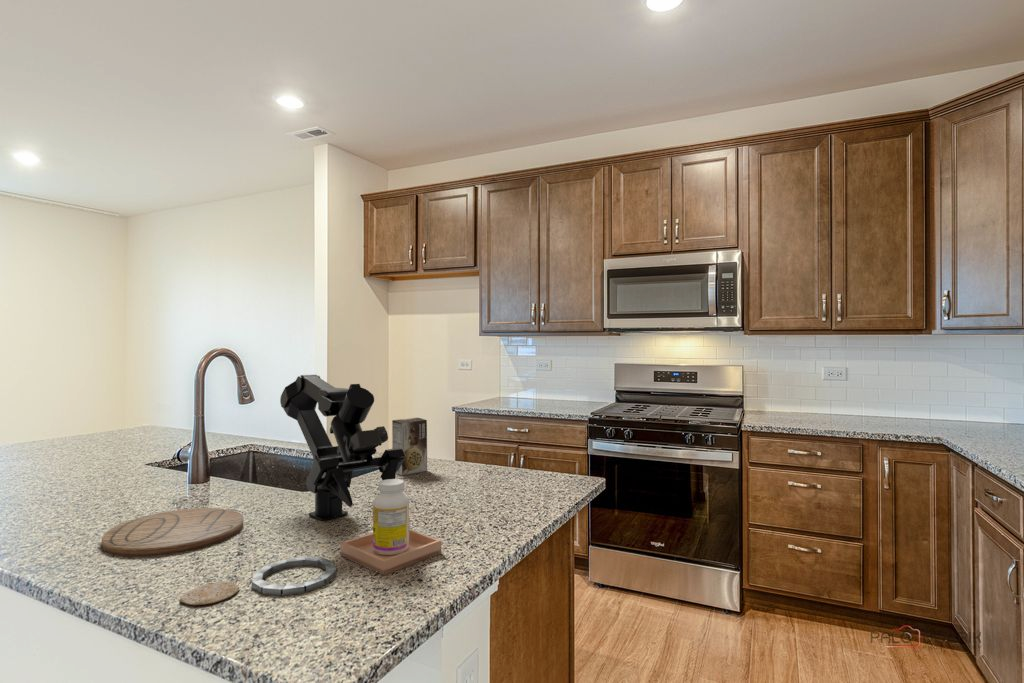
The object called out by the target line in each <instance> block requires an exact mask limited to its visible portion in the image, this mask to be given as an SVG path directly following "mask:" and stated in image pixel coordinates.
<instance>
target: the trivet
mask: <svg viewBox="0 0 1024 683" xmlns="http://www.w3.org/2000/svg"><path fill="white" fill-rule="evenodd" d="M242 528H244V516H243V514H242V513H241V512H239V511H236V510H233V509H229V508H220V507H199V508H187V509H185V508H184V509H177V510H170V511H164V512H158V513H153V514H149V515H144V516H142V517H137V518H134V519H131V520H128V521H125V522H122V523H121V524H119V525H115V526H114V527H113V526H112V528H110V529H109V530H108V531H106V532H105V533H103V536H102V537H101V547H102V550H103V551H104V552H106V553H108V554H110V555H114V556H118V557H119V556H121V557H127V558H129V557H133V558H135V557H137V558H138V557H139V558H143V557H144V558H145V557H156V556H159V557H160V556H167V555H172V554H173V555H175V554H179V553H184V552H185V553H186V552H189V551H193V550H198V549H201V548H206V547H208V546H212V545H215V544H218V543H222V542H223V541H225V540H227V539H230V538H232V537H234V536H235V535H236V534H238V533H240V531H242Z"/></svg>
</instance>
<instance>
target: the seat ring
mask: <svg viewBox="0 0 1024 683" xmlns="http://www.w3.org/2000/svg"><path fill="white" fill-rule="evenodd" d="M303 566H307V567H308V566H309V567H318V568H320V569H322V570H323V571H324V572H323V573H321V575H319V576H318V577H315V578H312V579H311V580H310V579H309V580H307V581H305V582H300V583H294V584H293V583H292V584H291V583H290V584H275V583H270V582H267V581H266V580H264V579H265V578H267V577H268V576H269V575H271V574H273V573H275V572H278V571H281V570H284V569H287V568H292V567H293V568H294V567H303ZM336 572H337V570H336V563H335V562H334V561H333V560H330V559H327V558H325V557H319V556H299V557H292V558H291V557H290V558H286V559H281V560H278V561H274V562H271V563H268V564H266V565H264V566H263V567H261V568H260V569H258V570H256V571H255V572H254V573H253V575H252V579H251V589H253V590H254V591H256V592H257V593H259V594H260V595H261V594H262V595H267V596H268V595H269V596H278V597H285V596H291V595H297V594H298V595H300V594H305V593H308V591H309V592H311V591H314V590H316V588H317V589H319V588H322V587H324V586H325V585H324V584H326V585H328V584H329V583H330V582H331V581H332V580H333V579H334V577H335V578H336V577H337V573H336ZM331 579H332V580H331ZM330 580H331V581H330ZM329 581H330V582H329ZM328 582H329V583H328ZM323 585H324V586H323ZM321 586H322V587H321Z"/></svg>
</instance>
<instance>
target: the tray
mask: <svg viewBox="0 0 1024 683" xmlns="http://www.w3.org/2000/svg"><path fill="white" fill-rule="evenodd" d="M440 554H442V540H441V539H439V538H435V537H432V536H431V535H430V536H429V535H427V534H424V533H422V532H418V531H415V530H413V529H410V528H409V547H408V549H407V550H406V551H405V552H403V553H400V554H397V555H380V554H377V553H376V552H375V551H374V550H373V532H372V533H368V534H366V535H362V536H359V537H356V538H353V539H349V540H346V541H343V542H340V556H341V557H342V556H343V558H344V557H346V558H345V559H347V558H348V559H347V560H349V559H350V560H349V561H351V560H352V561H351V562H353V561H354V563H355V562H357V563H356V564H358V563H359V564H358V565H360V564H361V565H360V566H362V565H363V567H364V566H365V567H364V568H367V567H368V568H367V569H369V568H370V569H369V570H371V569H372V570H371V571H373V570H374V571H373V572H375V571H377V572H376V573H378V572H379V573H378V574H379V575H382V574H383V576H386V575H389V574H391V573H394V572H397V571H399V570H401V569H404V568H406V567H410V566H412V565H414V564H417V563H420V562H422V561H425V560H427V559H430V558H433V557H435V556H437V555H440Z"/></svg>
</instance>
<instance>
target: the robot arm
mask: <svg viewBox="0 0 1024 683" xmlns="http://www.w3.org/2000/svg"><path fill="white" fill-rule="evenodd" d="M279 402H280V406H281V408H282V409H283V411H284V412H285V414H286V416H288V417H290V418H292V419H293V420H296V422H297V424H298V426H299V429H300V430H301V433H302V435H303V438H304V440H305V441H306V444H307V446H308V449H309V450H310V453H311V455H312V458H313V460H312V465H311V468H310V470H309V473H308V475H307V477H306V480H305V484H306V490H308V491H309V492H311V493H313V494H314V511H311V512H309V513H308V516H309V517H311V518H315V519H318V520H320V521H323V522H324V521H328V520H332V519H335V518H339V517H342V516H347V515H348V513H349V512H348V511H346V510H344V509H343V503H344V504H345V505H347V507H349V508H352V506H353V504H354V503H353V498H352V495H351V493H350V490H349V488H351V485H352V484H351V483H352V479H353V478H352V477H353V473H354V472H356V471H363V470H368V469H376V468H377V469H378V470H379V472H380V473H381V474H380V478H381V481H382V480H387V479H397V478H396V476H397V473H396V471H398V470H399V468H400V467H401V465H402V463H403V462H404V460H405V459H406V455H405V453H404V451H403V449H401V448H395V449H392V448H390V449H389V448H388V449H385V450H384V451H383V453H382V454H381V456H380V457H379V456H378V457H373V455H375V454H376V453H377V447H379V446H382V444H383V443H386V442H388V439H389V436H388V435H389V434H388V431H387V430H386V429H387V428H386V427H385V426H377V427H376V428H373V429H369V430H363V429H362V427H361V424H362V423H364V422H365V420H366V418H367V416H368V415H369V413H370V411H371V410H372V407H373V404H374V402H375V396H374V394H373V393H372V392H371V391H369V390H368V389H366V388H364V387H361V384H360V383H350V384H349V387H348V388H345V387H343V388H342V387H334V386H333V385H331V384H330V383H328V382H327V381H325V380H324V379H322V378H321V376H320V375H317V374H301V375H299V376H297V377H296V379H295V380H294V381H293V382H291V383H290V384H288V385H287V386H285V387H284V388H283V390H282V392H281V394H280V401H279ZM316 408H317V409H318V411H319V412H320V413H321V414H322V416H324V417H333V418H332V420H331V422H330V428H329V434H333V435H334V439H335V442H336V444H337V445H336V446H333V445H332V444H333V443H332V441H331V440H330V438H329V436H328V434H327V430H325V428H324V425H323V423H322V421H321V419H320V417H319V415H318V413H317V410H316Z"/></svg>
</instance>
